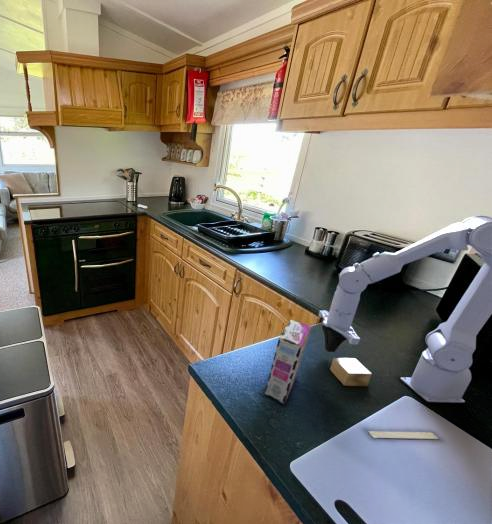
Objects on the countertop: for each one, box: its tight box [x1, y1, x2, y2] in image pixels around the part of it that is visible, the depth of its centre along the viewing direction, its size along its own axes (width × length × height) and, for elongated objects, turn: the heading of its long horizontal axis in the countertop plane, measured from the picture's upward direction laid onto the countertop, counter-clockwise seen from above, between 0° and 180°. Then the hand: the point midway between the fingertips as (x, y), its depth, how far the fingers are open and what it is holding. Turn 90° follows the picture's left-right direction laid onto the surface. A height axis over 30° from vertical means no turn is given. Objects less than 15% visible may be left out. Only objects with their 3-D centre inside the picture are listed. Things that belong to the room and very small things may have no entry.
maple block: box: [329, 357, 373, 387], centre depth 76 cm, size 6×6×4 cm
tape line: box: [367, 430, 439, 440], centre depth 61 cm, size 14×2×1 cm, turn 91°
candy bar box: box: [264, 319, 312, 405], centre depth 70 cm, size 11×5×16 cm, turn 141°
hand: (329, 350), depth 84 cm, fingers closed
